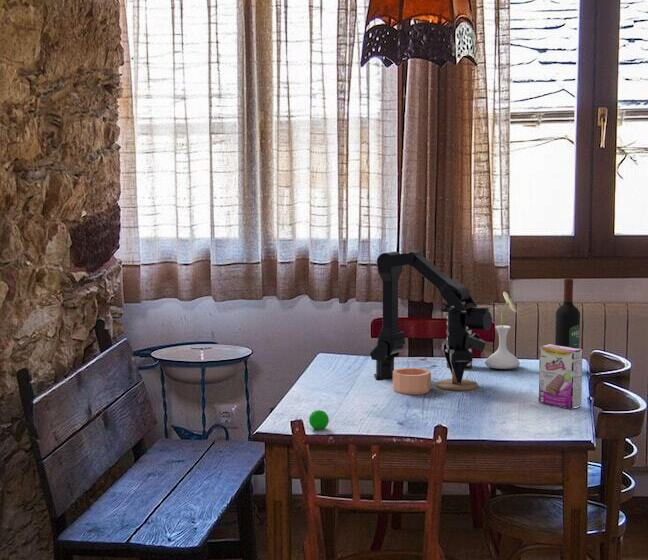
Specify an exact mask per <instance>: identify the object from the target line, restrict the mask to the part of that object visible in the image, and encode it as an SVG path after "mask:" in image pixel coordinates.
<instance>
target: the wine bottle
mask: <svg viewBox="0 0 648 560" xmlns="http://www.w3.org/2000/svg"><path fill="white" fill-rule="evenodd" d="M573 289H574V279H573V278H564V280H563V303H562V305H560V306H559V307H558V308H557V310H556V311H555V331H554V333H555V336H554V338H555V339H554V345H558V346H563V347H570V348H576V349H580V340H581V339H580V336H581V335H580V334H581V333H580V330H581V312H580V310H579V309H578V308H577V306H575V305H574V301H573V300H574V299H573V297H574V295H573V294H574V290H573Z"/></svg>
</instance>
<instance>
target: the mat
mask: <svg viewBox="0 0 648 560" xmlns="http://www.w3.org/2000/svg"><path fill="white" fill-rule="evenodd" d="M437 382H438V381H431V386H432V387H433V389H434V390H435V391H436V392H435V393H436V394H441V393H447V394H448V393H485V390H484V389H483V388H482V387H481V386H480V385H479V383H478V382H477V381H476V380H474V382H476V383H477V388H476V389H474V390H469V391H447V390H442V389H439V388H437Z"/></svg>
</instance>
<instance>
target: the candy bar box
mask: <svg viewBox="0 0 648 560" xmlns="http://www.w3.org/2000/svg"><path fill="white" fill-rule="evenodd" d="M583 356H584V355H583V349H582V348H579V349H576V348H570V347H563V346H558V345H555V344H551V343H549V344H543V345H541V346H539V368H538V369H539V373H538V375H539V376H538V377H539V378H538V381H539V382H538V388H539V389H538V403H540V404H545V405H548V404H549V405H548V406H553V405H555V406H554V407H558V406H561V407H560V408H562V407H566V408H565V409H567V408H574V407H577V406H580V405H581V406H582V392H583V391H582V387H583V386H582V384H583V382H582V381H583V380H582V379H583Z"/></svg>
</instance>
